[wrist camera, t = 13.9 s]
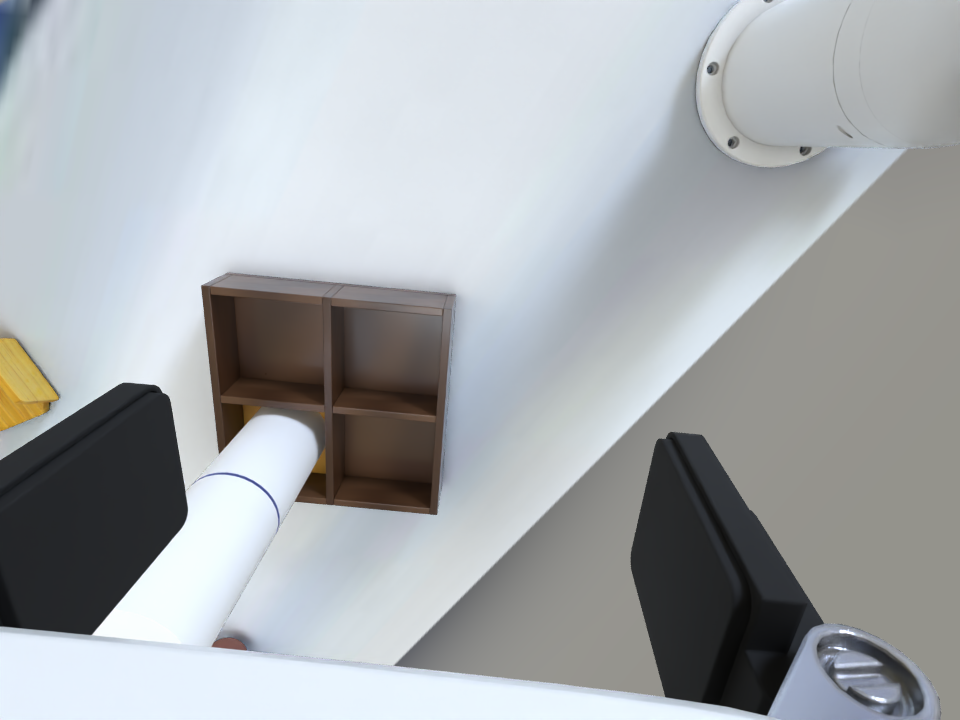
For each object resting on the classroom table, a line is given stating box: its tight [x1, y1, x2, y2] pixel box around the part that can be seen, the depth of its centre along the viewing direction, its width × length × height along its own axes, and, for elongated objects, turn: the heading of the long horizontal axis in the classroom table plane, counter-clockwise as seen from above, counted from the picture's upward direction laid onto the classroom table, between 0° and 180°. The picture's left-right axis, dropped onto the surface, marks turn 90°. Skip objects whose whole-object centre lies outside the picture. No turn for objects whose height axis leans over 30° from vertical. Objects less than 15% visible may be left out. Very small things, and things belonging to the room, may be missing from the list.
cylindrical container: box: [92, 407, 325, 647], centre depth 41 cm, size 7×7×25 cm
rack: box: [201, 273, 456, 515], centre depth 49 cm, size 20×20×5 cm
